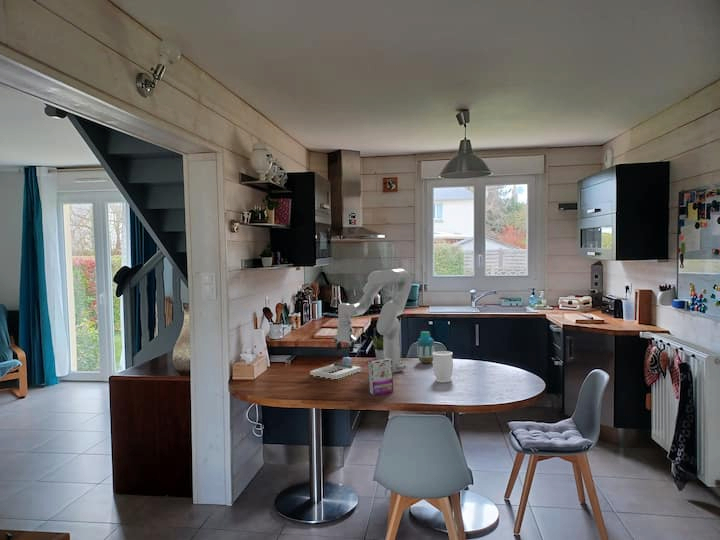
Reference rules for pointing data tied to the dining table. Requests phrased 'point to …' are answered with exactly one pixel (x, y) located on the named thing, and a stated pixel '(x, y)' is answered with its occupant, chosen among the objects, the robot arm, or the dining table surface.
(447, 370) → the jar
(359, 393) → the dining table surface
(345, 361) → the stacked blue discs
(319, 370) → the white frame with handle
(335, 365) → the dark gray bar handle
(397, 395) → the dining table surface
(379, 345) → the house plant
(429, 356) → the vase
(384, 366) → the candy bar box
